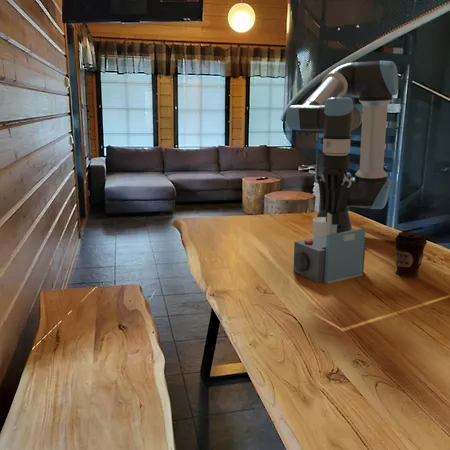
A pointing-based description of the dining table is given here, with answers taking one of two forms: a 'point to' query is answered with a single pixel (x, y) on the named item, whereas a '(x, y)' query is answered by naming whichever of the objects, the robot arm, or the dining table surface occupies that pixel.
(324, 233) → the white cup
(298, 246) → the grey notched block
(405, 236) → the coffee cup
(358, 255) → the side door
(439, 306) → the dining table surface
